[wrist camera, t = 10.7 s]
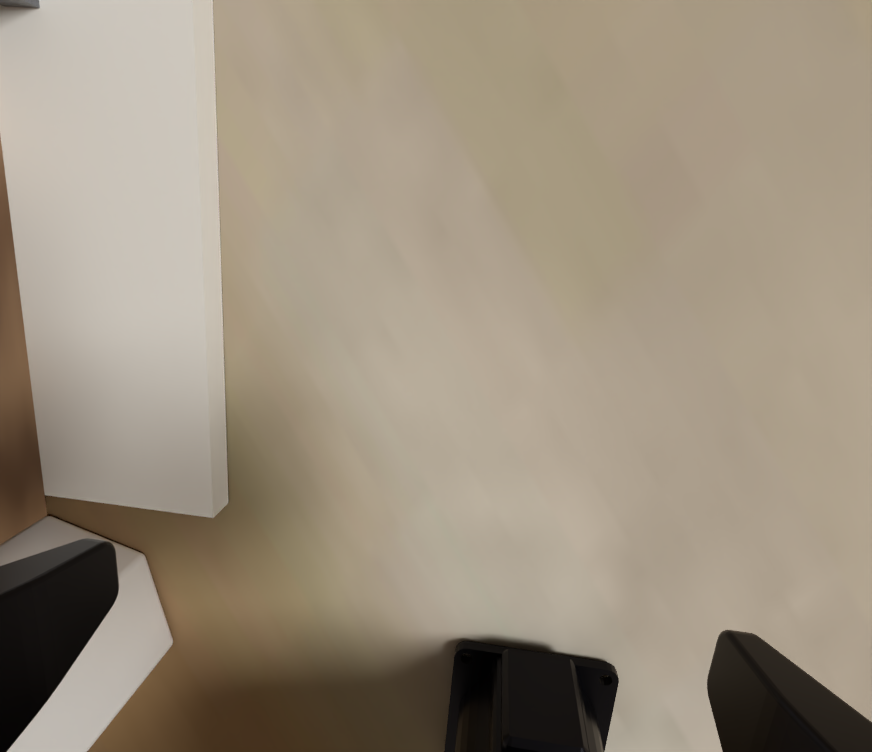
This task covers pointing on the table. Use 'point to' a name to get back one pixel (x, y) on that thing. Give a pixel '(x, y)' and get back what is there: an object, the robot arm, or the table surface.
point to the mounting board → (119, 246)
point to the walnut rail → (15, 397)
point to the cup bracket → (20, 3)
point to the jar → (95, 647)
